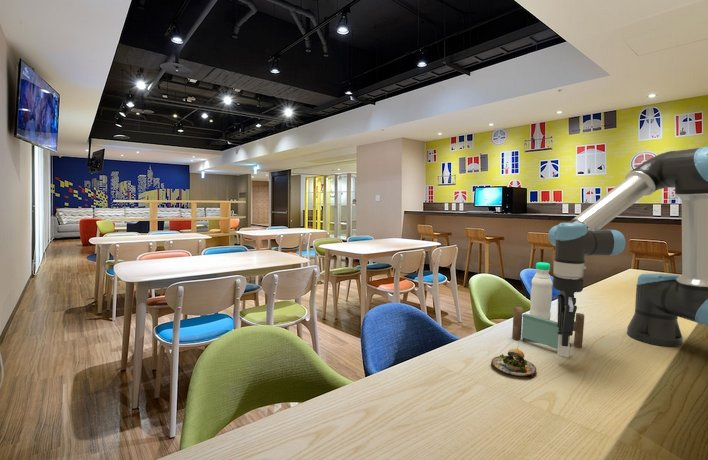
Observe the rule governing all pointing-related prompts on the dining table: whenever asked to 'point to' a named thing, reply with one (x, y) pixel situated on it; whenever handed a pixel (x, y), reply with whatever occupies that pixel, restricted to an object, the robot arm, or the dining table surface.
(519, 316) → the gate frame
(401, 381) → the dining table surface
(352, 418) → the dining table surface
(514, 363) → the burger
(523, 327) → the gate
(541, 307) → the water bottle
